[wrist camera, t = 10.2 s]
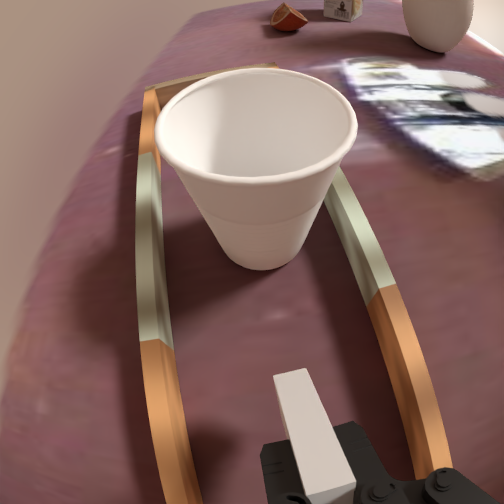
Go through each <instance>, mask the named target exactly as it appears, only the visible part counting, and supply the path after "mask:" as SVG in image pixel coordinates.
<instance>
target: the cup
mask: <svg viewBox="0 0 504 504" xmlns="http://www.w3.org/2000/svg"><path fill="white" fill-rule="evenodd" d="M357 128H358V124H357V119H356V114H355V112H354V110H353V108H352V106H351V105H350V103H349V102H348V101H347V100H346V98H345V97H344V96H343V95H342V94H341V93H340V92H338V91H337V90H336V89H334V88H333V87H331V86H330V85H328V84H326V83H324V82H323V81H321V80H319V79H316V78H314V77H311V76H308V75H305V74H302V73H298V72H294V71H290V70H283V69H275V68H249V69H239V70H233V71H228V72H223V73H220V74H216V75H213V76H210V77H207V78H205V79H202V80H200V81H198V82H195V83H194V84H192V85H190V86H188V87H187V88H185V89H183V90H182V91H180V92H179V93H178V94H177V95H175V96H174V97H173V98H172V99H171V100H170V101H169V102H168V103H167V104H166V105H165V106H164V107H163V109H162V111H161V112H160V114H159V116H158V117H157V120H156V124H155V128H154V139H155V144H156V146H157V149H158V151H159V153H160V155H161V156H162V157H163V158H164V159H165V160H166V161H167V162H168V164H169V165H171V166H172V167H173V168H174V169H175V171H176V173H177V174H178V176H179V178H180V179H181V181H182V183H183V184H184V186H185V188H186V189H187V191H188V193H189V194H190V196H191V198H192V199H193V201H194V203H195V204H196V206H197V208H198V209H199V211H200V213H201V214H202V216H203V217H204V219H205V221H206V222H207V224H208V226H209V227H210V229H211V230H212V232H213V234H214V235H215V237H216V239H217V241H218V242H219V244H220V245H221V247H222V249H223V250H224V252H225V253H226V255H227V256H228V257H229V258H230V259H231V260H232V261H234V262H235V263H236V264H238V265H240V266H243V267H245V268H249V269H252V270H270V269H274V268H278V267H280V266H282V265H284V264H286V263H288V262H289V261H291V260H292V259H293V258H294V257H295V256H296V255H297V254H298V253H299V251H300V249H301V247H302V245H303V243H304V241H305V239H306V237H307V235H308V233H309V230H310V228H311V226H312V223H313V221H314V219H315V217H316V215H317V213H318V210H319V208H320V206H321V204H322V202H323V199H324V198H325V195H326V193H327V191H328V189H329V187H330V185H331V182H332V180H333V178H334V176H335V174H336V171H337V169H338V167H339V164H340V162H341V160H342V158H343V156H344V155H345V154H346V153H347V152H348V151H349V150H350V149H351V147H352V145H353V143H354V141H355V139H356V135H357Z"/></svg>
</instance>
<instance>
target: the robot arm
mask: <svg viewBox="0 0 504 504" xmlns="http://www.w3.org/2000/svg"><path fill="white" fill-rule="evenodd" d="M273 378H274V383H275V388H276V393H277V398H278V403H279V408H280V413H281V418H282V422H283V425H284V429H285V433H286V437H287V440H283V441H279V442H274V443H269V444H264V445H263V448H262V451H261V454H260V459H261V465H262V470H263V476H264V482H265V488H266V494H267V500H268V504H500V503H499V502H497V501H496V500H495V499H493V498H492V497H491V496H489V495H488V494H487V493H486V492H484V491H483V490H482V489H480V488H479V487H478V486H476V485H475V484H474V483H472V482H471V481H470V480H469V479H467V478H466V477H465V476H463V475H462V474H461V473H460V472H458V471H457V470H455V469H453V468H447V467H444V468H439V469H436V470H435V471H433V472H431V473H430V474H429V476H428V477H427V478H425V479H419V480H413V481H399V480H396V479H394V478H392V477H391V476H390V475H389V474H388V473H387V472H386V470H385V468H384V466H383V464H382V463H381V461H380V459H379V457H378V455H377V453H376V452H375V450H374V448H373V446H372V444H371V442H370V441H369V439H368V437H367V435H366V433H365V431H364V430H363V428H362V427H361V426H359V425H358V424H357V423H355V422H354V421H351V422H348V423H344V424H341V425H338V426H335V427H332V425H331V423H330V421H329V419H328V416H327V414H326V412H325V410H324V407H323V405H322V403H321V401H320V398H319V396H318V394H317V392H316V389H315V387H314V385H313V383H312V380H311V378H310V376H309V374H308V371H307V369H306V368H303V369H299V370H295V371H291V372H287V373H282V374H278V375H274V376H273Z"/></svg>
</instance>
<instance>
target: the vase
mask: <svg viewBox="0 0 504 504" xmlns="http://www.w3.org/2000/svg"><path fill="white" fill-rule="evenodd" d="M473 5H474V4H473V0H402V7H403V14H404V19H405V23H406V26H407V29H408V32H409V34H410V36H411V38H412V39H413V40H414V41H415V42H416V43H417V44H418V45H420V46H422V47H424V48H426V49H428V50H431V51H434V52H439V53H442V52H448V51H450V50H451V49H453V48H454V47H455V46H456V45H457V44H458V43H459V42H460V41H461V39H462V38H463V37H464V35H465V34H466V32H467V30H468V28H469V26H470V23H471V20H472V15H473Z"/></svg>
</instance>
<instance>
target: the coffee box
mask: <svg viewBox="0 0 504 504" xmlns="http://www.w3.org/2000/svg"><path fill="white" fill-rule="evenodd" d="M362 6H363V0H324V17H329V18H334V19H339V20H343V21H348V22H352V21H353V20H355V19H356V18H358V17H359V16H361V15H362Z"/></svg>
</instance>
